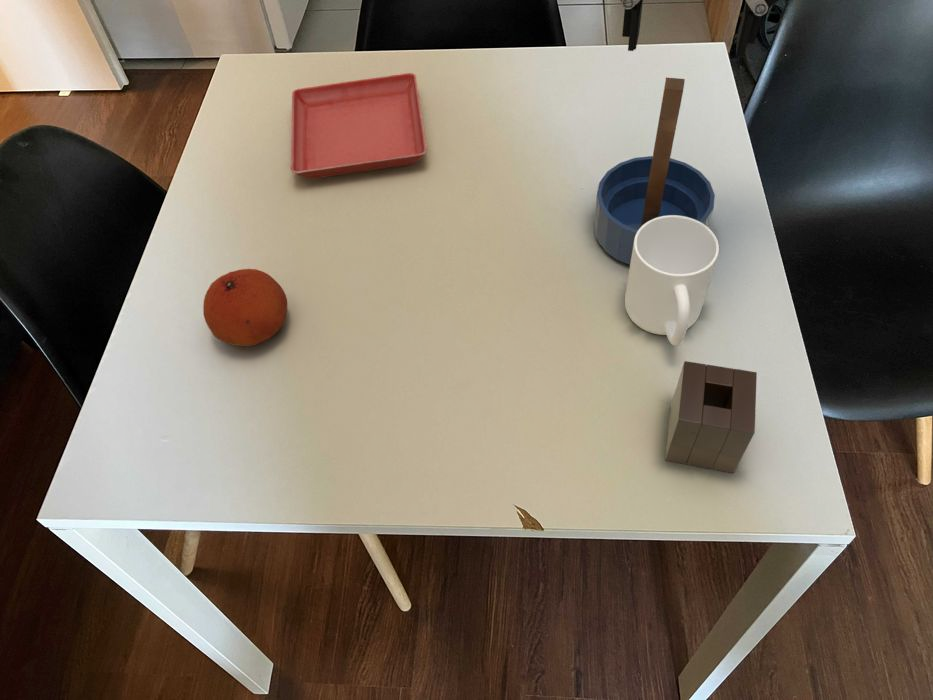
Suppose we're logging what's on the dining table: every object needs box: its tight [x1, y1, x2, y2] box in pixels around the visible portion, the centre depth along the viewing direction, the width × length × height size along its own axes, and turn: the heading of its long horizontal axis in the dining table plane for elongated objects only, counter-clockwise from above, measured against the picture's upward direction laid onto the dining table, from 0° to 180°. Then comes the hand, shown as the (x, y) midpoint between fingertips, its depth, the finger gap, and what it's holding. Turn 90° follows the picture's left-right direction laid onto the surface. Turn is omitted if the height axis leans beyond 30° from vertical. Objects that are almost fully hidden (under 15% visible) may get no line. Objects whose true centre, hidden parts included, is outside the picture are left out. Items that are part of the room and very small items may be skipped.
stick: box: [641, 77, 686, 227], centre depth 78 cm, size 2×2×20 cm
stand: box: [664, 360, 758, 474], centre depth 67 cm, size 6×6×8 cm
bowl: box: [593, 155, 716, 266], centre depth 84 cm, size 13×13×6 cm
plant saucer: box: [290, 72, 428, 179], centre depth 100 cm, size 18×18×3 cm
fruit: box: [202, 268, 288, 347], centre depth 80 cm, size 9×9×8 cm
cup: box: [624, 215, 720, 347], centre depth 75 cm, size 8×12×10 cm
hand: (685, 45), depth 67 cm, fingers open, 9 cm apart
